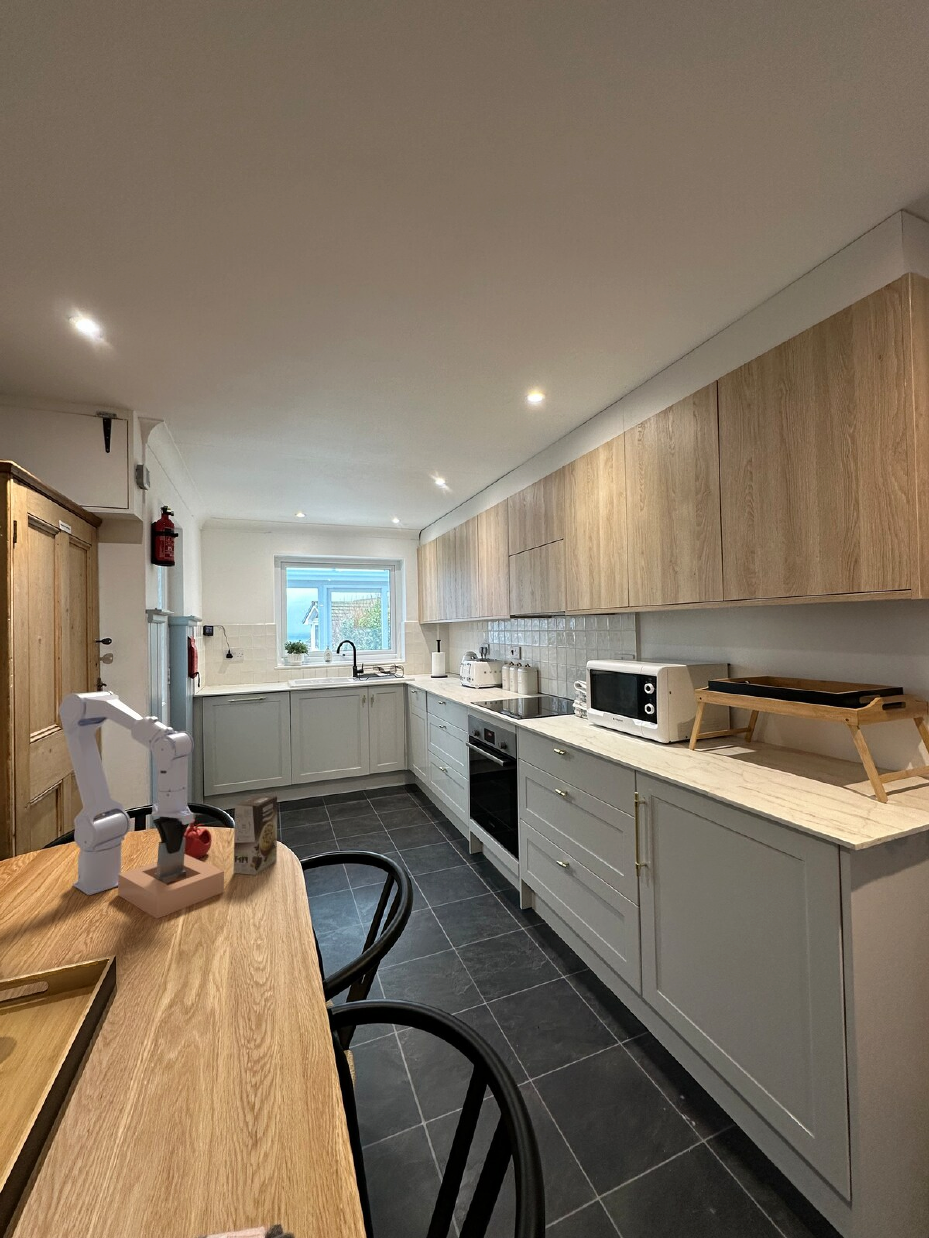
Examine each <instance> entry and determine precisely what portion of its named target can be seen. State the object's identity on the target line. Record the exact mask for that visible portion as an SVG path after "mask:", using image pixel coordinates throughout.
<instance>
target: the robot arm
mask: <svg viewBox="0 0 929 1238" xmlns="http://www.w3.org/2000/svg"><path fill="white" fill-rule="evenodd" d="M57 710H58V714H59V717H60V721H61V725H62V729H63V732H64V739H65V742H66V746H67V749H68V753H69V757H70V761H71V765H72V768H73V773H74V777H75V780H76V784H77V789H78V792H79V796H80V800H81V804H82V807H83V808H82V809H81V810H80V811H79V813H77V815H76V816H75V818H73V824H74V833H73V834H74V835H73V836H74V837H73V838H74V842H75V843H76V846H77V847H78V848H80V852H79V854H78V858H77V861H78V862H77V865H78V866H77V881H75V882H73V883H72V886H74V887H75V888H76V889H79V890H80V892H81V891H82V893H84V894H86V895H87V896H91V895H95V894H98V893H101V892H104V891H106V890H109V889H113V888H115V887H118V874H120V873H122V842H123V841H125V836H126V835H127V834H128V833H129V831H130V829H131V825H132V824H131V818H130V815H129V814H128V813H127V811H126V810H125V807H124V805H123V803H122V802H121V801H118V800H116V799H115V798H112V797H111V796H112V795H111V793H110V789H109V785H108V784H109V783H108V782H107V777H106V774H105V770H104V765H103V762H102V758H101V755H100V751H99V747H98V743H97V739H96V732H97V730H98V729H99V728H101V727H102V726H103V725H104V724H105V723H106V722H107V720H110V721H112V722H114V723H116V724H118V725H120V726H121V727H123V728H125V729H127V730H129V731H130V736H131V738H132V739H133V740H135V741H136V742H138V743H139V744H141V745H143V746H144V747H145V748H147V749H149V750H151V755H152V757H153V759H154V761H155V767H156V770H157V771H158V772H157V773H158V775H157V803H154V804H152V805H151V806H152V809H151V811H152V812H151V817H153V818H156V819H154V820H152V821H153V822H152V823H153V824H154V826H155V828H156V829H157V831H158V834H159V838H160V842H161V841H166V840H167V848H168V852H169V854H172V853H176V852H179V851H180V848H181V844H182V840H183V837H184V834H185V832H186V829H187V828H189V827H190V823H192V822H193V820H194V816H195V815H194V812H192V811H191V810H190V808H189V806H188V769H189V767H188V763H189V761H188V760H189V756H190V755H191V754H192V753H193V751H194V748H195V742H194V739H193V737H192V735H191V734H189V733H188V731H185V730H181V731H176V730H175V729H174V728H172V727H171V726H170V727H169V726H167V725H166V724H164V723H162V722H161V721H159V718H158V717H157V716H154V715H153V716H145V717H142V716H141V715H140V714H138V713H137V712H136V711H134V710H133V709H131V708H130V707H129V706H127V705H126V704H125V703H123V702H122V701H121V700H120V696H119V695H118V694H115V693H114V692H112V691H110V690H102V691H94V692H93V691H91V692H83V693H69V694H67V695H66V696H64V698H63V700H62V701H61V703H60V705H59V706H58V709H57ZM99 815H101V816H99ZM96 816H97V817H96ZM158 817H159V818H158Z"/></svg>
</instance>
